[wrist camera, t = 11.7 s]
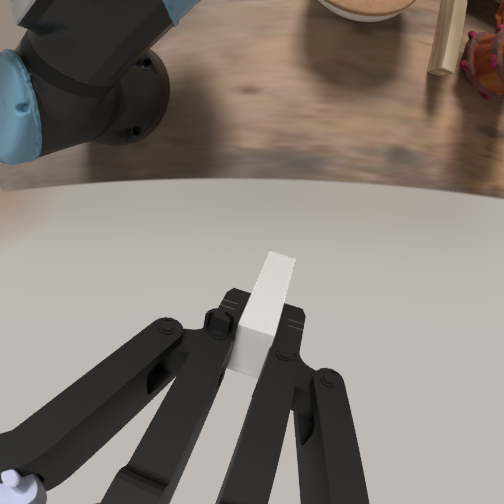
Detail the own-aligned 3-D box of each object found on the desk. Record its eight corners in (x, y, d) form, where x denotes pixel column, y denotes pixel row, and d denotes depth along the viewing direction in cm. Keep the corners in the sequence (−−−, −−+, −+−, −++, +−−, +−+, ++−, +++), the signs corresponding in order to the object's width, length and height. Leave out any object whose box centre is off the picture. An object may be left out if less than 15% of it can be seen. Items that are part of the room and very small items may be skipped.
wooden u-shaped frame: (426, 71, 30) (442, 67, 25) (445, -31, 22) (459, -47, 17) (519, 121, 28) (543, 126, 23) (536, 22, 20) (558, 17, 15)
